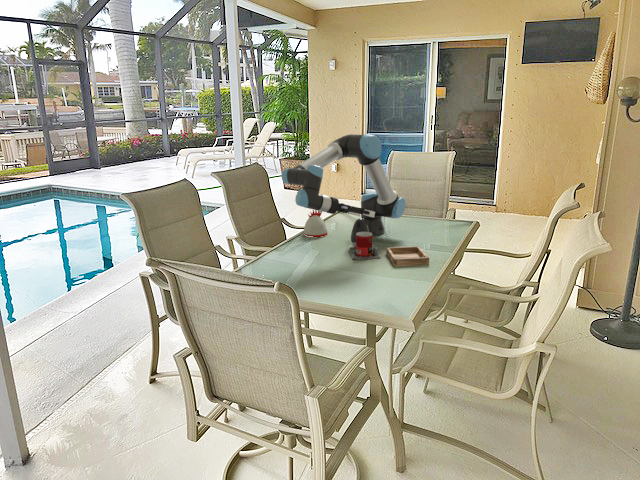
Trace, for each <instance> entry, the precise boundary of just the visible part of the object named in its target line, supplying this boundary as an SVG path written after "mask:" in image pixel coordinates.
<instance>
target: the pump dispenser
mask: <svg viewBox="0 0 640 480" xmlns="http://www.w3.org/2000/svg"><path fill="white" fill-rule="evenodd" d="M358 232H369V229H368V226H367V223H366V222H365V220H364V218H363V219H361V218H360V217H359V218H358V219H356V220H355V221H354V224H353V226H352V229H351V234H350V241H351V245H352V246H353V247H354V248H356V233H358Z"/></svg>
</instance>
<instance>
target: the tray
mask: <svg viewBox="0 0 640 480" xmlns="http://www.w3.org/2000/svg"><path fill="white" fill-rule="evenodd" d="M386 256H387V257H388V259H389V260H390V262H391V263H392V266H393V267H413V266H416V267H417V266H430V257H429V255H427V253H426V252H425V251H424V250H423V249H422V248H421V247H420V246H418V245H417V246H416V245H415V246H396V247H393V246H392V247H391V246H390V247H386Z"/></svg>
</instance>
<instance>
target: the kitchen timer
mask: <svg viewBox="0 0 640 480" xmlns="http://www.w3.org/2000/svg"><path fill="white" fill-rule="evenodd" d="M322 213H323V212H320V211H318V210H314V209H312V211H310V214H309V213H307V214H308V215H307V216H308V219H307V220H306V222H305V224H304V229H303V232H304V234H305V235H307V236H313V237H320V236H325V235H327V236H328V228H327V225H326V221H325V220H324V219H323V218H322V217H321V216H322ZM304 234H303V235H304ZM325 237H326V236H325ZM320 238H321V237H320Z"/></svg>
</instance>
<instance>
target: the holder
mask: <svg viewBox="0 0 640 480" xmlns="http://www.w3.org/2000/svg"><path fill="white" fill-rule="evenodd" d="M355 253H356V250H349V253H348V254H349V255H350V257H351V260H356V261H357V260H372V259H374V260H375V259H381V256H380V254H379V253H378V248H377V246H374V245H372V255H374V256H370V257H359V256H356V255H355Z"/></svg>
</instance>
